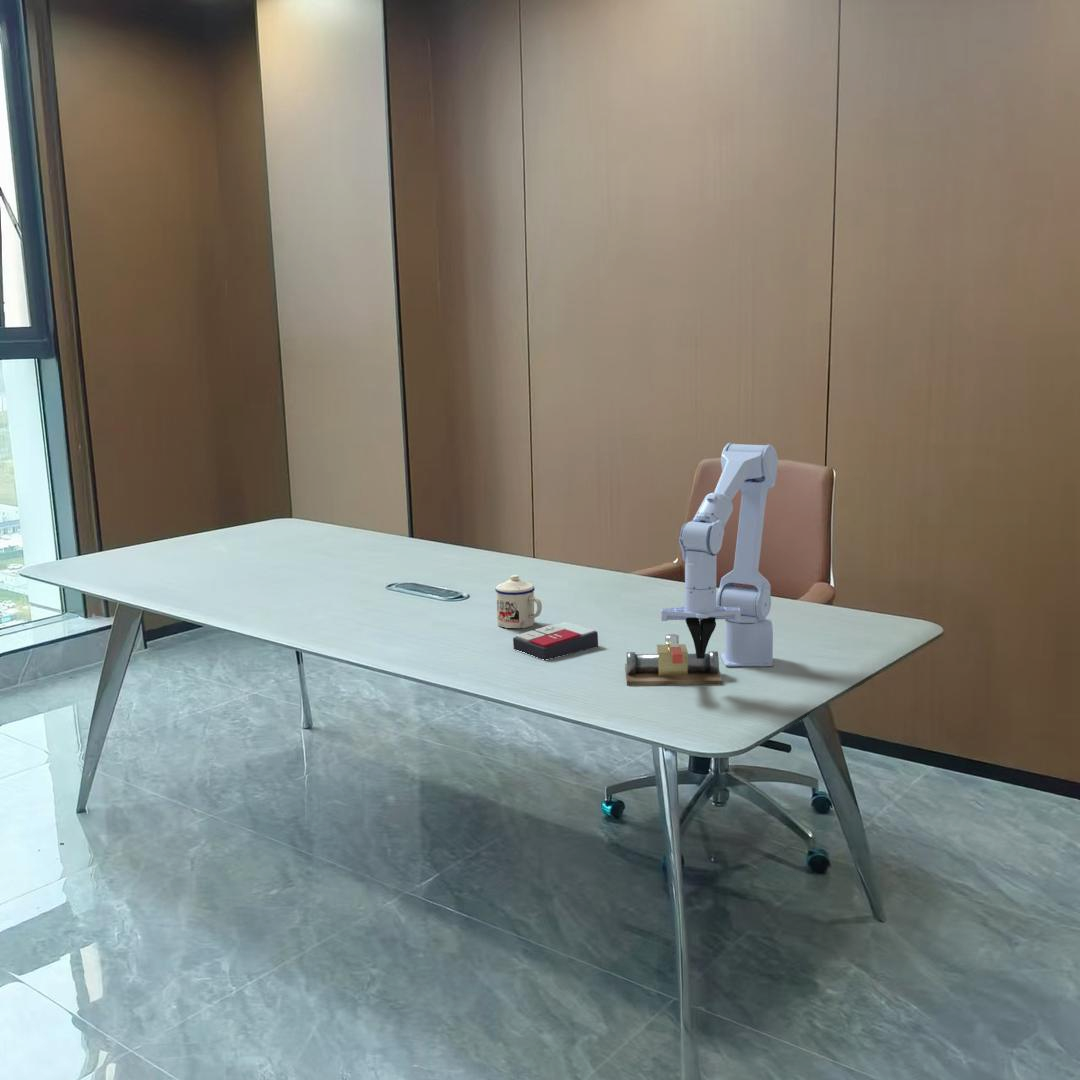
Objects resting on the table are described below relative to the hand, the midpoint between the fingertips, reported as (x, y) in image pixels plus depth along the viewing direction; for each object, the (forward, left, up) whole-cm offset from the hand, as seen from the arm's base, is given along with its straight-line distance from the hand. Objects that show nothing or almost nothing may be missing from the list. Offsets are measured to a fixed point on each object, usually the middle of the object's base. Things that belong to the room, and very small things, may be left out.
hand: (700, 657), depth 199 cm
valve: (+5, -9, -6) cm, 12 cm away
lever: (+5, -3, 0) cm, 5 cm away
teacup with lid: (+37, -47, -7) cm, 60 cm away
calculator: (+28, -28, -7) cm, 40 cm away
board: (+5, -9, -6) cm, 12 cm away
